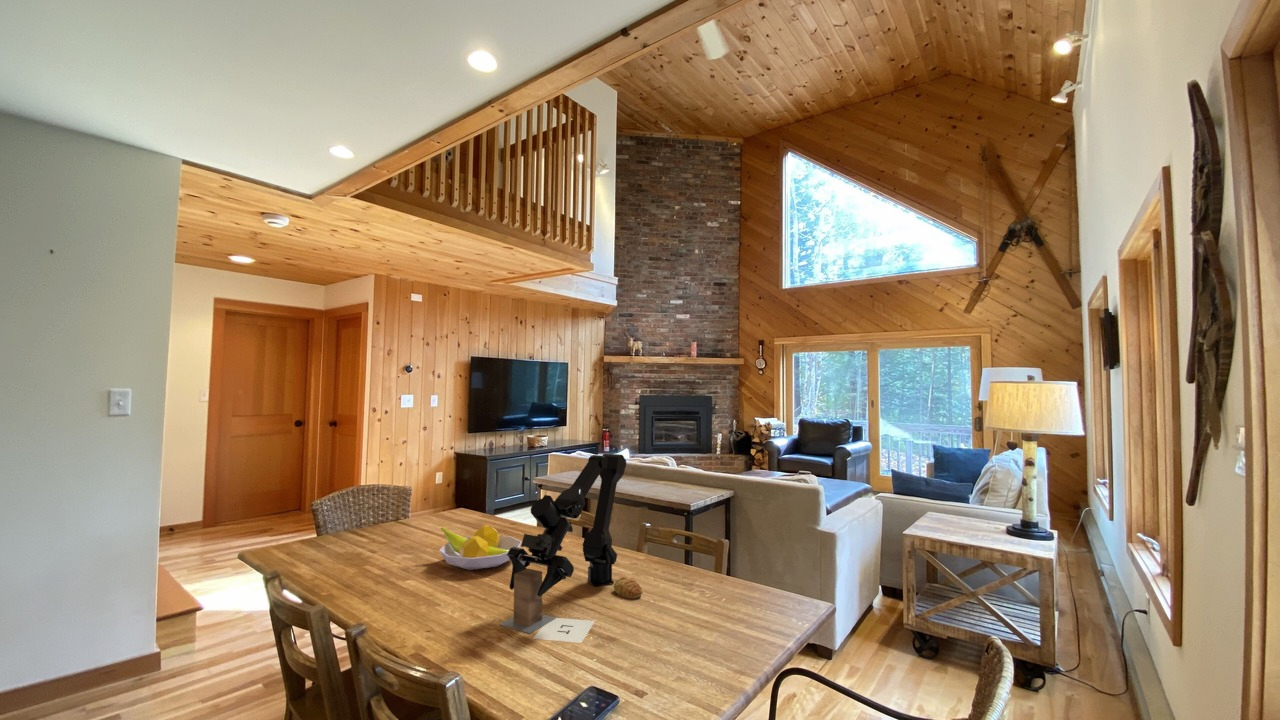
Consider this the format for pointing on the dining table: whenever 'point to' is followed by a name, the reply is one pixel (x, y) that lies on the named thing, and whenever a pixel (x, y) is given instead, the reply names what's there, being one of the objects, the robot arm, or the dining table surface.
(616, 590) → the pastry
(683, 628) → the dining table surface
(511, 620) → the slate coaster
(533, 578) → the walnut block
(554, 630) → the tile
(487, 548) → the fruit bowl
